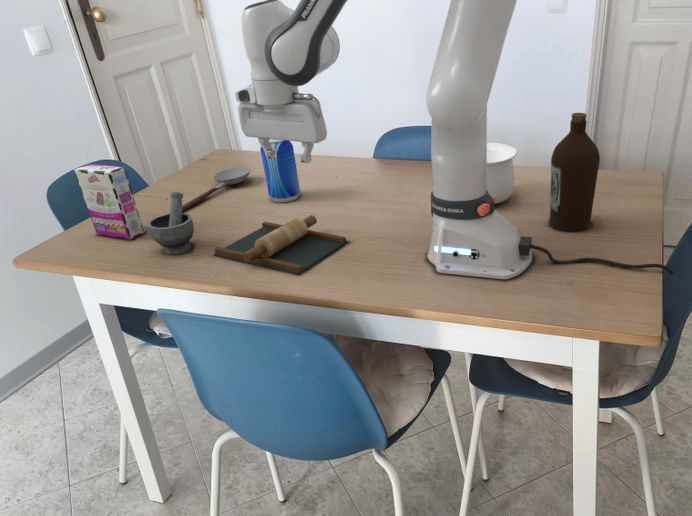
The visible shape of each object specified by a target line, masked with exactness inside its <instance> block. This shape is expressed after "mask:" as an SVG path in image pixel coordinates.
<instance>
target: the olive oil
mask: <svg viewBox="0 0 692 516" xmlns="http://www.w3.org/2000/svg"><path fill="white" fill-rule="evenodd" d="M587 115H588V114H587V113H585V112H574V113H572V114H571V120H570V127H569V129H570V130H569V132H568V133H567V134H566V135H565V136H564V137H563V139H562V140H560V141H559V142H558V143H557V145H556V146H555V147H554V149H553V151H552V154H551V159H550V203H549V204H550V205H549V209H550V210H549V224H550V226H551V227H553V228H554V229H555V230H559V231H563V232H580V231H584V230H586V229H588V228H589V227H590V226H591V223H592V222H591V221H592V214H593V206H594V200H595V193H596V186H597V181H598V174H599V169H600V164H601V163H600V162H601V157H600V151H599V148H598V146H597V144H596V143H595V142H594V141H593V139H591V137H590V136H589V134H588V133H587V131H586V130H587V117H588V116H587Z"/></svg>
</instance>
